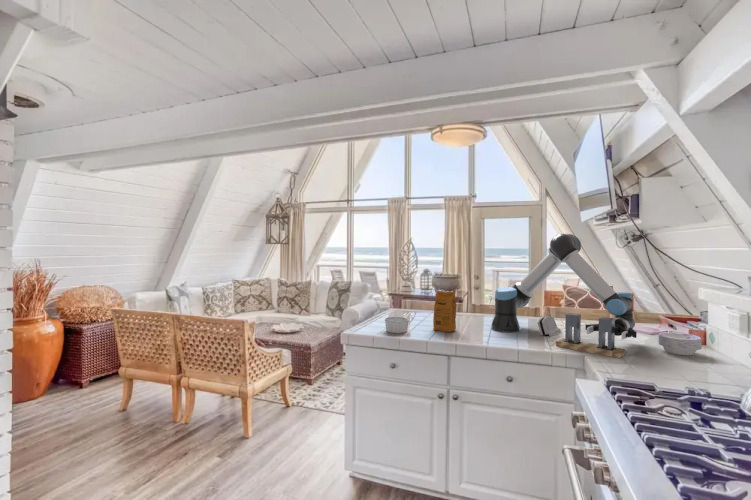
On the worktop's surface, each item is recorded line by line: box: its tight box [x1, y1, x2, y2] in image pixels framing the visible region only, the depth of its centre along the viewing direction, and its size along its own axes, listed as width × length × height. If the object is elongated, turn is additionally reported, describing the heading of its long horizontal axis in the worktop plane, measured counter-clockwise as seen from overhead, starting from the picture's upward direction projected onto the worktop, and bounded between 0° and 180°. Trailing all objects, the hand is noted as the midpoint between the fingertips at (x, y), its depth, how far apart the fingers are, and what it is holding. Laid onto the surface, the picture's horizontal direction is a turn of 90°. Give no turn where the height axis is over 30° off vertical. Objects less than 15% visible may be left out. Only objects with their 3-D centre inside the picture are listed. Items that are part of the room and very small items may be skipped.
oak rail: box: [555, 337, 626, 359], centre depth 173 cm, size 26×8×2 cm, turn 44°
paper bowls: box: [657, 331, 703, 356], centre depth 170 cm, size 15×15×8 cm
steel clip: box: [597, 316, 616, 351], centre depth 168 cm, size 5×5×16 cm
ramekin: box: [384, 316, 410, 334], centre depth 208 cm, size 13×13×7 cm
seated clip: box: [564, 312, 582, 344], centre depth 178 cm, size 5×5×16 cm
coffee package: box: [432, 290, 457, 333], centre depth 212 cm, size 10×12×22 cm
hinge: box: [537, 316, 562, 337], centre depth 207 cm, size 17×5×10 cm, turn 136°
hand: (604, 333), depth 166 cm, fingers open, 13 cm apart
